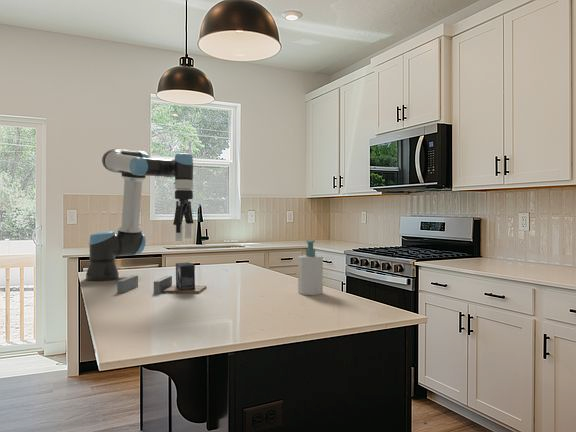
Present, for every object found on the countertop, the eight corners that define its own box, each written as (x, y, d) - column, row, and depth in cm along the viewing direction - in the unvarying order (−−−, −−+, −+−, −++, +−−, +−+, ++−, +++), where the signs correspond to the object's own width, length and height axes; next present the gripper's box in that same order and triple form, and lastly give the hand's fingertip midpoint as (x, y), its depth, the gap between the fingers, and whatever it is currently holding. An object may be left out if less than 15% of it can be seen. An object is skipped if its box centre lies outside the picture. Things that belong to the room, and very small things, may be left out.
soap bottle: (295, 294, 190) (296, 241, 189) (300, 290, 199) (300, 239, 198) (320, 295, 187) (320, 241, 187) (324, 291, 196) (324, 239, 196)
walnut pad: (173, 287, 205) (173, 285, 205) (206, 288, 204) (206, 285, 204) (163, 293, 192) (163, 290, 192) (198, 293, 191) (198, 291, 191)
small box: (174, 286, 202) (174, 262, 201) (189, 285, 204) (189, 262, 204) (180, 290, 192) (180, 265, 192) (195, 289, 195) (195, 264, 195)
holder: (132, 286, 208) (132, 275, 208) (171, 286, 207) (171, 275, 207) (117, 293, 192) (117, 281, 192) (159, 293, 191) (159, 281, 191)
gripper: (183, 190, 211) (183, 237, 212) (165, 189, 186) (165, 241, 187) (199, 190, 210) (199, 237, 211) (184, 189, 186) (183, 241, 186)
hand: (183, 239), depth 199 cm, fingers open, 13 cm apart
